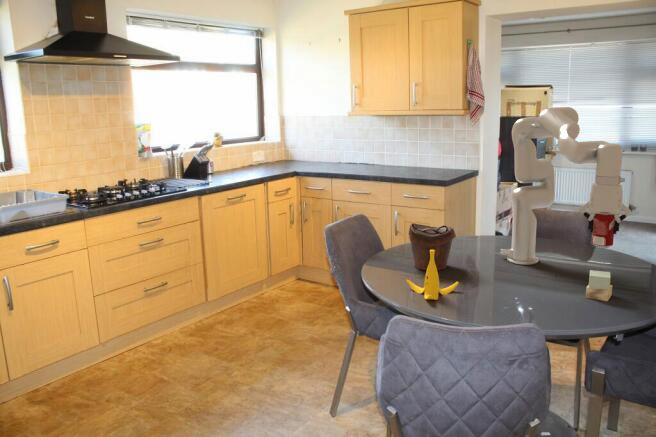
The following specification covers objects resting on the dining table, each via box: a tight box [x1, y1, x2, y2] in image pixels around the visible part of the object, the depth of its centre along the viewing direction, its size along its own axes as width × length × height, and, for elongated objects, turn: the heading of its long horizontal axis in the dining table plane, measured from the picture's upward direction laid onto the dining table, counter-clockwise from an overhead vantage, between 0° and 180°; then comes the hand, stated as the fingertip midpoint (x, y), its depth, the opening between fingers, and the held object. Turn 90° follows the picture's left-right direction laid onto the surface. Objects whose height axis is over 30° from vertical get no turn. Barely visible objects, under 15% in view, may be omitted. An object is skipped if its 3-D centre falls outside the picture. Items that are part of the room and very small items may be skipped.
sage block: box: [588, 269, 611, 290], centre depth 205 cm, size 6×6×4 cm
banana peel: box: [406, 250, 460, 301], centre depth 211 cm, size 17×19×17 cm
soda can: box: [591, 213, 616, 249], centre depth 201 cm, size 7×7×12 cm
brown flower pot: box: [408, 222, 457, 271], centre depth 242 cm, size 18×20×18 cm
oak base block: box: [585, 284, 613, 302], centre depth 205 cm, size 7×7×4 cm
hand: (603, 231), depth 201 cm, fingers closed on soda can, 6 cm apart
